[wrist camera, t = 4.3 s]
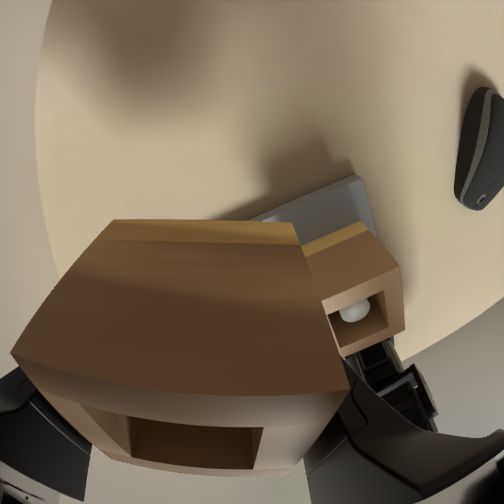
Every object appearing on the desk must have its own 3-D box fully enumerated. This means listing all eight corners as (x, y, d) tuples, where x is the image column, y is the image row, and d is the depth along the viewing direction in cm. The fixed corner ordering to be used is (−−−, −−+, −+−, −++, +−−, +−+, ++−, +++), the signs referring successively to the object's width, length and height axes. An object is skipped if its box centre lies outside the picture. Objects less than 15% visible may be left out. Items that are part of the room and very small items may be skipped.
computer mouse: (440, 195, 19) (468, 213, 16) (468, 72, 13) (500, 75, 10) (480, 212, 20) (504, 230, 16) (507, 107, 14) (534, 115, 10)
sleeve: (273, 347, 12) (287, 474, 6) (143, 340, 11) (111, 458, 6) (291, 222, 9) (350, 389, 3) (113, 219, 8) (9, 353, 3)
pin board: (355, 173, 18) (407, 212, 12) (383, 290, 24) (416, 345, 17) (127, 277, 22) (97, 338, 15) (200, 358, 27) (194, 417, 21)
